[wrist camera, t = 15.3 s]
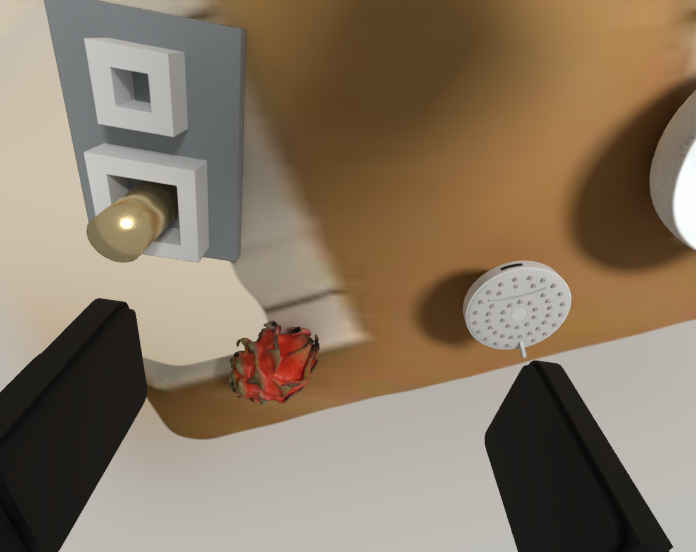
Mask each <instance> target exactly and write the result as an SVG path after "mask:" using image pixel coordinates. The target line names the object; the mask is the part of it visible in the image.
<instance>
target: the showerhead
mask: <svg viewBox="0 0 696 552" xmlns="http://www.w3.org/2000/svg"><path fill="white" fill-rule="evenodd" d="M570 306H571V294H570V290H569V288H568V286H567V284H566V283H565V281H564V280H563V279H562V278H561V277H560V276H559V275H558V274H557V273H556V272H555V271H554V270H553V269H552V268H550V267H548V266H546V265H544V264H541V263H538V262H533V261H515V262H510V263H506V264H502V265H500V266H497V267H495V268H493V269H491V270H489V271H488V272H486V273H485V274H483V275H482V276H481V277H479V278H478V279H477V280H476V281H475V282H474V283H473V285H472V286H471V287H470V289H469V290H468V292H467V294H466V296H465V299H464V303H463V315H464V319H465V322H466V325H467V328H468V330H469V332H470V333H471V335H472V336H473V337H474V338H475V339H476V340H477V341H479V342H480V343H482V344H484V345H486V346H489V347H492V348H497V349H518V348H519V349H520V353H521V356H522V358H525V357H526V352H525V347H527V346H530V345H533V344H535V343H538V342H540V341H542V340H544V339H545V338H547V337H548V336H550V335H551V334H552V333H553V332H555V331H556V330H557V329H558V328H559V327H560V325H561V324H562V323H563V322H564V320H565V318H566V317H567V315H568V312H569V310H570Z"/></svg>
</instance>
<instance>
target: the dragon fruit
mask: <svg viewBox="0 0 696 552" xmlns="http://www.w3.org/2000/svg"><path fill="white" fill-rule="evenodd" d="M264 326H265V327H266V328H265V329H262V330H261V332H260V333H259V335H258V336H259V338H258V339H257V341H256V342H252V341H251V340H249V339H248V338H242V339H239V340H238V341H237V346H239V343H240V341H241V343H242V344H243V345H244V347H245V351H238V352H235V354H234V357H233V358H231V359H230V362H231V364H232V365H231V368H232V369H233V370H232V371H231V374H230V378H229V381H230V390H231V389H232V388H233V390H232V391H234V392H235V393H236V394H239V393H240V395H239V396H238V398H241V399H247V398H249V399H250V400H251V401H252V402H254V403H256V402H258V401H260V402H261V403H260V404H264V405H265V404H266V402H267V400H276V401H278V402H279V403H284V402H287V401H288V400H289V399H290V398H291V397H293V396H294V395H295V394H296V393H298V392H300V391H301V390H302V389H303V388H304V387H305V385H306V384H307V382H308V381H309V379H310V374H311V373H312V371H313V370H314V369H315V365H316V364H317V361H318V360H316V355H317V353H318V351H319V348H320V347H319V343H318V336H317V334H316V335H315V343H314V340H312V339H313V338H311V337H309V336H310V335H311V332H310V330H308V329H305V328H301V327H296V328H292V329H290V330H293V329H294V330H293V331H292V332H298V331H300V332H299V333H297V334H293V335H288V334H284V335H281V334H280V332H281V326H280V325H278V324H277V323H276V322H274V321H271V322H268V323H266V324H264ZM279 326H280V327H279ZM290 330H288V331H290ZM273 332H274V334H273ZM313 343H314V344H313ZM312 344H313V345H312ZM235 356H236V357H235ZM315 360H316V361H315ZM312 366H313V367H312Z"/></svg>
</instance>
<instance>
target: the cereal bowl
mask: <svg viewBox="0 0 696 552" xmlns="http://www.w3.org/2000/svg"><path fill="white" fill-rule="evenodd" d="M649 180H650V184H649V186H650V194H651V198H652V203H653V205H654V208H655V210H656V212H657V214H658V216H659V218H660V219H661V220H662V222H663V223H664V225H665V226H666V227H667V228H668V229H669V231H670V232H671V233H673V234H674V236H675V237H677V238H678V239H680V240H681V241H682V242H683V243H685V244H686V245H687V246H688V247H690V248H692V249H693V250H695V251H696V90H695V91H694V93H693V94H692V95H691V96H689V97H688V98H687V100H686V101H685V102H684V103H683V105H682V106H681V107H680V108H679V109H678V111H677V112H676V113H675V114H674V115H673V118H672V119H671V120H670V121H669V124H668V125H667V127H666V129H665V130H664V132H663V135H662V137H661V139H660V141H659V142H658V146H657V148H656V151H655V153H654V157H653V159H652V165H651V169H650V178H649Z"/></svg>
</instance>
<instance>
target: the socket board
mask: <svg viewBox="0 0 696 552" xmlns="http://www.w3.org/2000/svg"><path fill="white" fill-rule="evenodd" d="M44 3H45V8H46V13H47V18H48V23H49V28H50V33H51V38H52V43H53V47H54V52H55V57H56V62H57V67H58V72H59V77H60V82H61V87H62V92H63V97H64V102H65V107H66V112H67V117H68V122H69V127H70V132H71V136H72V141H73V147H74V152H75V157H76V161H77V166H78V171H79V176H80V181H81V186H82V191H83V196H84V201H85V206H86V211H87V216H88V221H89V222H90V220H91V219H92V218H94V217H95V216H96V215H98V214H99V213H101V212H102V211H103V210H105V209H106V208H107V207H109V206H110V205H111V204H113V203H114V202H115V201H117V200H118V199H120V198H121V197H122V196H124V195H125V194H126V193H128V192H129V191H130V190H132V189H133V188H134V187H136V186H137V185H139V184H140V183H141V182H143V181H144V180H145V181H151V182H157V183H163V184H170V185H174V186H175V187H176V188H177V194H178V209H179V214H178V215H177V217H176V218H175V219H174V220H173V221H172V222H171V223H170V224H169V225H168V226H167V227H166V228H165V229H164V230H163V232H162V233H161V234H160V235H159V236H158V237H157V238H156V239H155V240H154V241H153V242H152V243H151V244H150V245H149V246H148V248H147V249H146V250H145V251H144V252H143V253H142V254H145V255H152V256H159V257H165V258H172V259H179V260H185V261H191V262H199V261H200V260H201V258H202V257H207V258H214V259H220V260H227V261H233V262H237V260H238V258H239V256H240V249H241V208H242V168H243V128H244V88H245V47H246V29H242V28H237V27H232V26H226V25H221V24H216V23H211V22H206V21H201V20H196V19H191V18H186V17H181V16H175V15H170V14H165V13H160V12H155V11H150V10H145V9H140V8H135V7H130V6H125V5H119V4H114V3H109V2H104V1H99V0H44Z"/></svg>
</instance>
